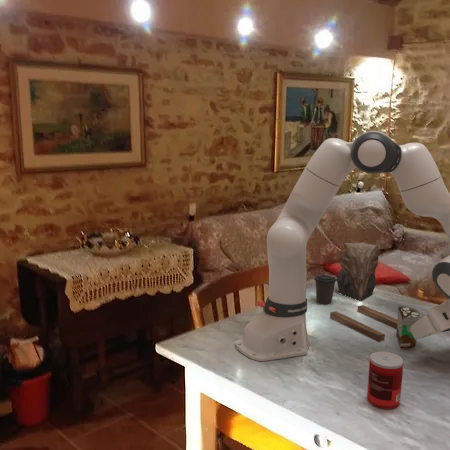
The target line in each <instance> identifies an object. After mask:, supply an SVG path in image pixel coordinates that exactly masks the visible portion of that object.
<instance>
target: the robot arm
mask: <svg viewBox="0 0 450 450" xmlns="http://www.w3.org/2000/svg"><path fill="white" fill-rule="evenodd" d="M355 169H358V170H359V171H361V172H362V173H366V174H372V175H373V174H384V173H389V174H391V175H392V177H393V179H394V181H395V182H396V186H397V188H398V191H399V193H400V197H401V199H402V202H403V204H404V205H405V207H406V208H407V209H408V211H409V212H410V213H412V214H414V215H417V216H419V217H425V218H426V217H428V218H433V219H435V220H437V221H438V223H440V225H441V227H442V229H443V231H444V233H445V235H446V237H447V238H448V241H449V242H450V192H449V190H448V189H447V187H446V184H445V182H444V179H443V177H442V174H441V172H440V169H439V167H438V165H437V163H436V161H435V159H434V158H433V156H432V154H431V153H430V151H429V150H428V148H427V147H426V145H424V144H423V143H420V142H409V143H405V144H402V145H399V144H397V143H396V142H395V141H393V139H392V138H391V137H390V136H389V134H387V133H386V132H383V131H381V130H375V129H371V130H368V131H365V132H363V133H362V134H360V135H358V137H357V138H355V139H354V140H352V141H349V142H348V141H346V140H343V139H341V138H338V137H337V138H336V137H330V138H327V139H325V140H324V141H322V143H321V144H320V146H318V148H317V149H316V151H315V152H314V153H313V154H312V156H311V157H310V159H309V160H308V161H307V164H306V166H305V168H304V169H303V171H302V173H301V174H300V176H299V178H298V180H297V182H296V183H295V185H294V187H293V189H292V191H291V192H290V195H289V196H288V198H287V200H286V202H285V204H284V206H283V208H282V210H281V211H280V213H279V216H278V217H277V218H276V220H275V221H274V223H273V224H272V225H271V227H270V228H269V229H268V231H267V235H266V250H267V252H266V253H267V263H268V296H267V297H266V300H265V301H264V300H263V299H260V298H259V299H257V301H256V305H257V306H258V307H260V308H262V311H261V312H259V313H258V314H257V315H256V316H255V317H254V318H253V319H252V320H251V321H250V322H248V324H246V326H245V327H244V330H243V331H244V332H243V336H242V338H240V339H237V340H236V341H235V348H236V350H238V351H239V352H240V353H241V354H243V355H244V356H246V357H247V358H249V359H251V360H254V361H258V362H267V361H273V360H279V359H286V358H292V357H298V356H306V355H307V354H308V348H309V347H310V343H311V342H310V339H309V336H308V332H307V331H308V330H307V329H308V328H307V318H306V317H307V316H306V315H307V314H306V313H307V311H308V299H307V285H308V284H307V279H308V273H307V272H308V271H307V244H308V242H309V239H310V238H311V236H312V234H313V233H314V230H315V229H316V228H317V226H318V224H319V222H320V221H321V220H322V218H323V216H324V214H325V213H326V211H327V210H328V208H329V206H330V204H332V201H333V200H334V198H335V196H336V194H337V193H338V191H339V189H340V188H341V186H342V184H343V183H344V180H346V177H347V176H348V175H349V174H350V173H351V171H353V170H355ZM431 278H432V281H433V283H434V285H435V287H436V288H437V289H438V290H439V291H440V292H441V293H442V294H443V295H444V296H445V297H446V298H448V299H446V300H445V301H443V302H442V303H441V304H439V305H436V306H434V307H432V308H430V309H428V310H427V311H426V313H427V314H424V316H421V319H419V320H418V321H417V322H416V323H414V324H413V325H412V326H411V327H410V331H411V333H412V335H413V337H414V338H415V339H416V340H420V339H424V338H428V337H431V336H433V335H434V336H435V335H438V334H440V333H444V332H450V254H449V255H448V256H446V257H444V258H443V259H442V260H440V261H439V262H437V263H436V264H435V265H434V267H433V268H432V271H431Z"/></svg>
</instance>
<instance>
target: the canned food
mask: <svg viewBox="0 0 450 450" xmlns="http://www.w3.org/2000/svg"><path fill="white" fill-rule="evenodd" d="M368 363H369V365H368V379H367V380H368V381H367V393H366V396H367V400H368V402H369V403H370V404H371V405H372V406H374V407H377V408H378V409H384V410H391V409H396V408H397V407H398V406H399V404H400V402H401V395H402V384H403V373H404V372H403V371H404V359H403V358H402V357H401V356H400V355H398V354H396V353H393V352H389V351H376V352H373V353H371V354H370V356H369V362H368Z"/></svg>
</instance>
